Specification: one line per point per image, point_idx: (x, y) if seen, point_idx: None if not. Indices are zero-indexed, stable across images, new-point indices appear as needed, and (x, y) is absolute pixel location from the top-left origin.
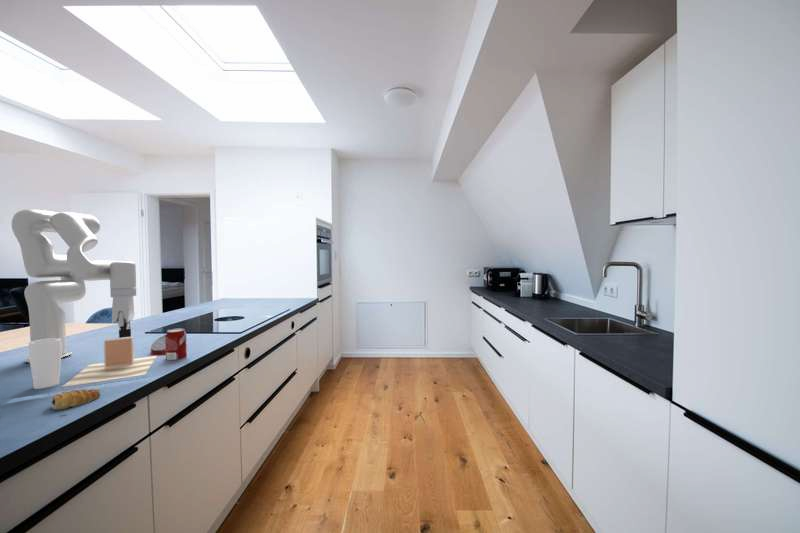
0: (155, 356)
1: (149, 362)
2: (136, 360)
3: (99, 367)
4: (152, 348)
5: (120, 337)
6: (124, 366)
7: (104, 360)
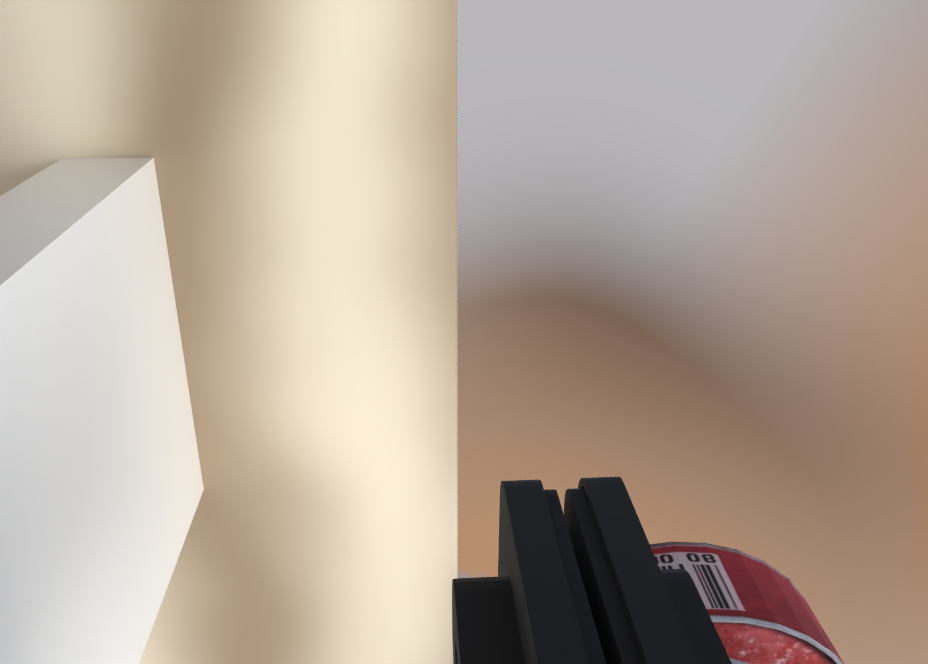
0: (415, 654)
1: None
2: (314, 489)
3: (125, 69)
4: None
5: (505, 547)
6: None
7: (1, 198)
